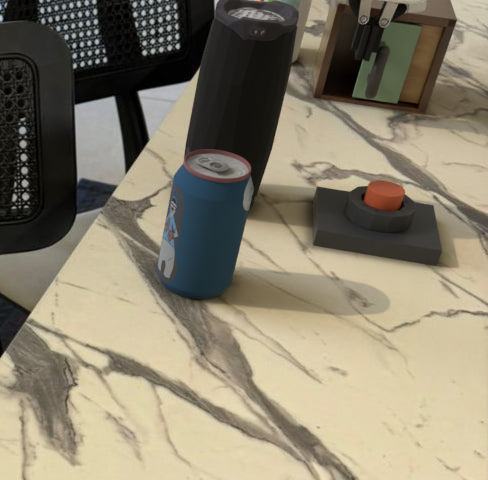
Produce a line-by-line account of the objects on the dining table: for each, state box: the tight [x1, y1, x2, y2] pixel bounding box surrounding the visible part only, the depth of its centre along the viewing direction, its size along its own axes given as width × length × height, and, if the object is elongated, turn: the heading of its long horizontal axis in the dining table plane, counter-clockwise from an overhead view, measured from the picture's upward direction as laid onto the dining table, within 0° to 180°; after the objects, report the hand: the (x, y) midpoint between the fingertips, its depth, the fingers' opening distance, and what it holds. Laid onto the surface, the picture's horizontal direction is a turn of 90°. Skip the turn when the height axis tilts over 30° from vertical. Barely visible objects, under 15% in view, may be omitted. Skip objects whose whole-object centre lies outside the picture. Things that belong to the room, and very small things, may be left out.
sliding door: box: [352, 21, 422, 104], centre depth 125 cm, size 6×5×9 cm
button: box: [363, 179, 406, 211], centre depth 102 cm, size 4×4×2 cm
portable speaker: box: [182, 0, 299, 211], centre depth 101 cm, size 9×9×20 cm
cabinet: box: [312, 0, 458, 116], centre depth 130 cm, size 14×10×12 cm
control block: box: [312, 185, 443, 267], centre depth 103 cm, size 12×10×4 cm
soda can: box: [156, 149, 254, 300], centre depth 91 cm, size 7×7×12 cm
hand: (361, 56), depth 123 cm, fingers closed
